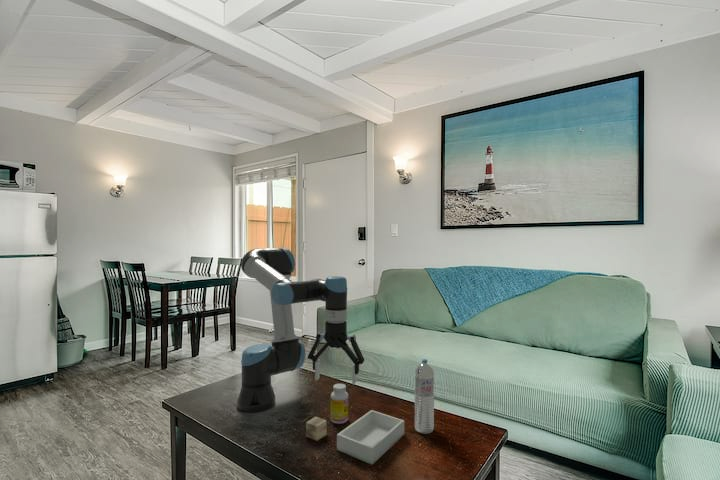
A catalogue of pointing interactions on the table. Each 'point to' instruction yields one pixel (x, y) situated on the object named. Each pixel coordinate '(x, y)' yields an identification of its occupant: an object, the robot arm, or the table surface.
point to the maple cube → (316, 428)
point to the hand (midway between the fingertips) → (335, 380)
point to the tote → (370, 436)
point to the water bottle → (424, 398)
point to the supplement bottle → (339, 404)
